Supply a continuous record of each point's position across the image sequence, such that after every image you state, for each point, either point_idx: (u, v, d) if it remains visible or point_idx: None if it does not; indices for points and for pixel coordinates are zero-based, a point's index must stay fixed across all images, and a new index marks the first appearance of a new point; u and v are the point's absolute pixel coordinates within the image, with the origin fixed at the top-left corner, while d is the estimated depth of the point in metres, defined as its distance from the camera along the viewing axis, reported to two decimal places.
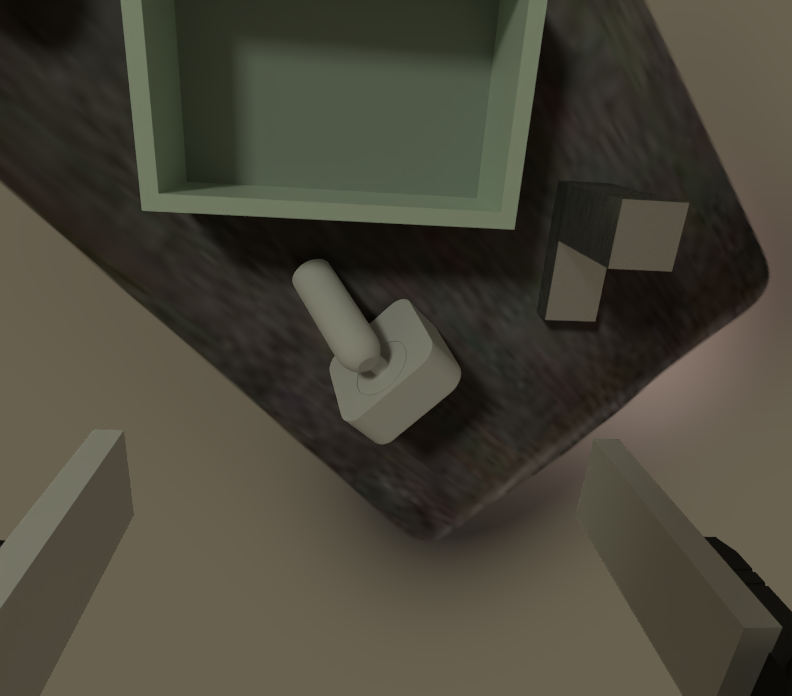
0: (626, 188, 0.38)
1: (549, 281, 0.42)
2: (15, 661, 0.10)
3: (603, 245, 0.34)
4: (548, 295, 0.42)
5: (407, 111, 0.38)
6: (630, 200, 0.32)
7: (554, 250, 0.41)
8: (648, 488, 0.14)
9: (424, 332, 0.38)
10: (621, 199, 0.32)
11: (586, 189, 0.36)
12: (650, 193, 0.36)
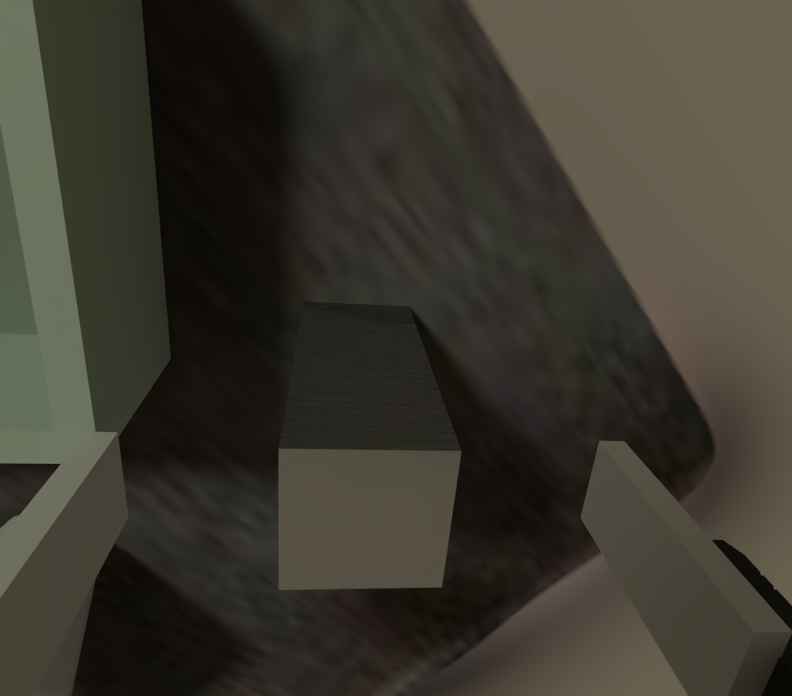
0: (408, 336, 0.19)
1: None
2: (4, 667, 0.10)
3: None
4: None
5: None
6: (300, 451, 0.12)
7: None
8: (655, 490, 0.14)
9: None
10: (280, 446, 0.12)
11: (295, 356, 0.17)
12: (430, 369, 0.16)
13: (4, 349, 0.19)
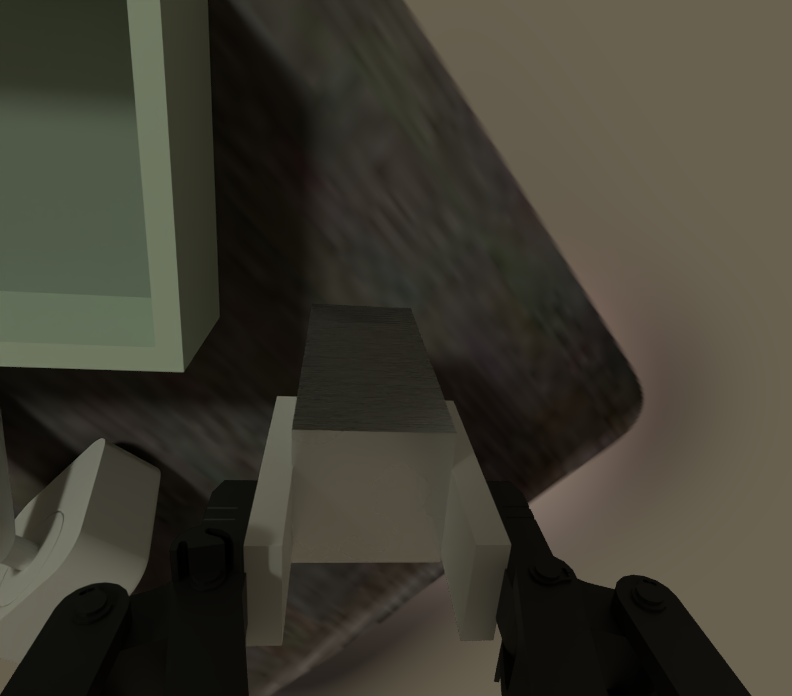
0: (410, 335, 0.20)
1: None
2: (285, 568, 0.12)
3: None
4: None
5: (65, 179, 0.25)
6: (311, 432, 0.13)
7: None
8: (457, 439, 0.16)
9: (84, 510, 0.25)
10: (293, 427, 0.14)
11: (305, 352, 0.18)
12: (430, 364, 0.18)
13: (104, 304, 0.26)
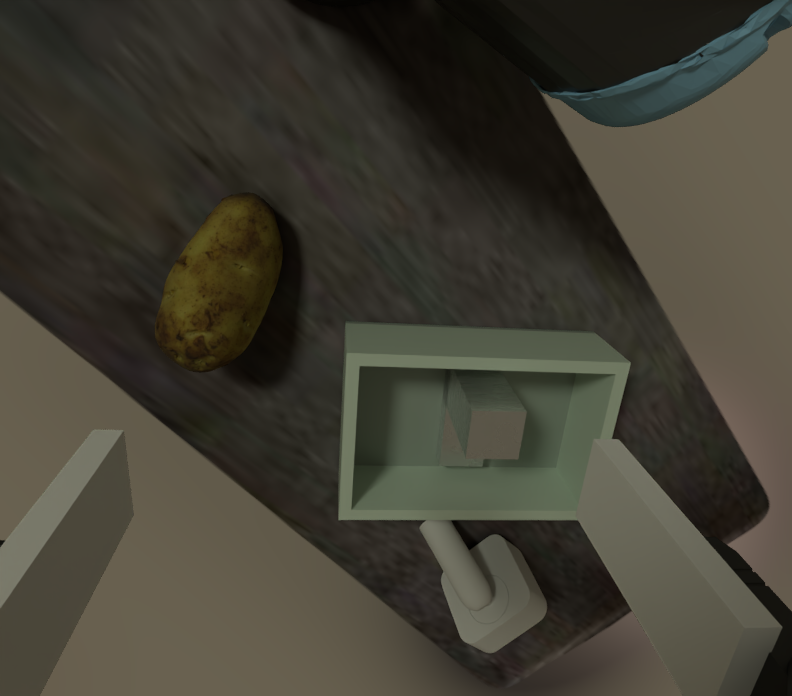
0: (496, 372, 0.47)
1: (441, 436, 0.50)
2: (15, 661, 0.10)
3: (464, 437, 0.42)
4: (440, 447, 0.51)
5: None
6: (478, 411, 0.40)
7: (444, 412, 0.50)
8: (648, 488, 0.14)
9: (521, 577, 0.52)
10: (472, 410, 0.40)
11: (458, 381, 0.45)
12: (509, 385, 0.44)
13: (522, 475, 0.53)
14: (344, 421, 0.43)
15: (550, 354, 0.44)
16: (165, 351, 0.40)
